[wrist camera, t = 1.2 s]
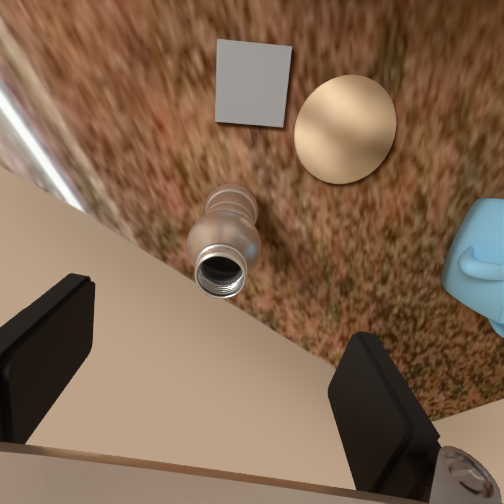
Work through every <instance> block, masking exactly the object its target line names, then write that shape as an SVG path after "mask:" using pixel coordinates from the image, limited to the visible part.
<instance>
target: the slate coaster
mask: <svg viewBox="0 0 504 504" xmlns="http://www.w3.org/2000/svg"><path fill="white" fill-rule="evenodd" d="M291 52H292V46H282V45H272V44H262V43H252V42H242V41H232V40H222V39H217V69H216V107H215V122H227V123H238V124H250V125H262V126H273V127H283V123H284V114H285V106H286V97H287V88H288V79H289V70H290V61H291Z"/></svg>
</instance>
